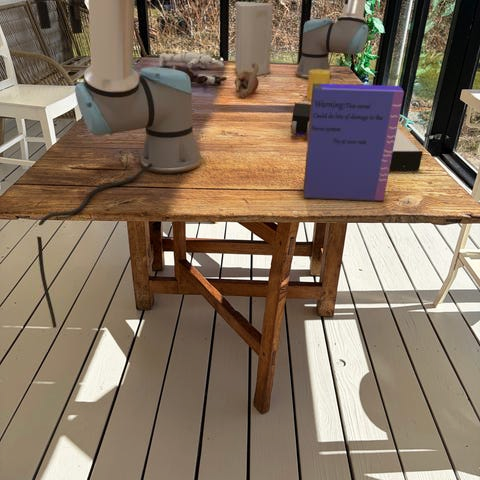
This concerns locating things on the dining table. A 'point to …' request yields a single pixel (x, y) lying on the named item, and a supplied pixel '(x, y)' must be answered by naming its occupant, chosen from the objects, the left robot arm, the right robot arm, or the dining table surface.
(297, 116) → the figurine character
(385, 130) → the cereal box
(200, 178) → the dining table surface
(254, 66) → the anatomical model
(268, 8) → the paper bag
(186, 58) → the toy
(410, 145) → the disc drive
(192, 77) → the figurine
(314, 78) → the tin
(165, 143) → the left robot arm
